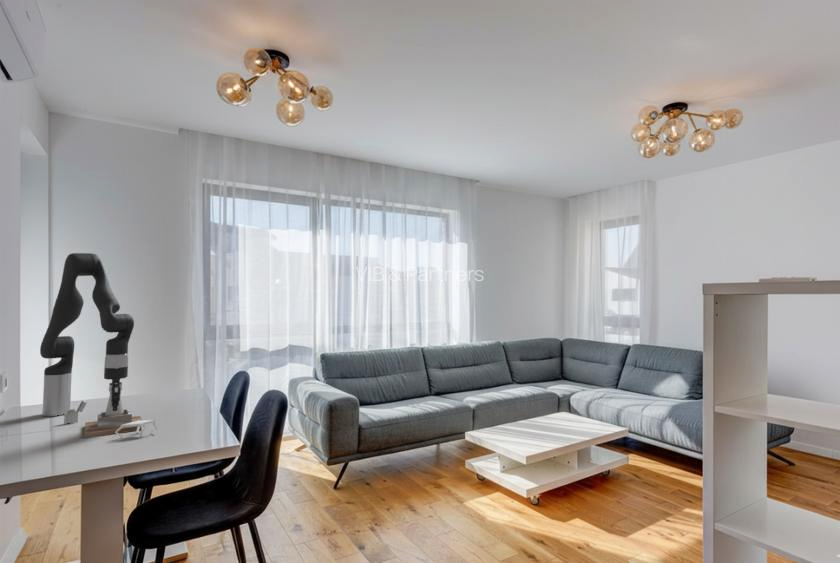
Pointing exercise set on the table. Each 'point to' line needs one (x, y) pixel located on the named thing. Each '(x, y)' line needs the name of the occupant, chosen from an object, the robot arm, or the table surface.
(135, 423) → the white bent open piece
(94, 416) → the table surface
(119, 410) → the salt shaker
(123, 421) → the wooden base with frame
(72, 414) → the lighter
